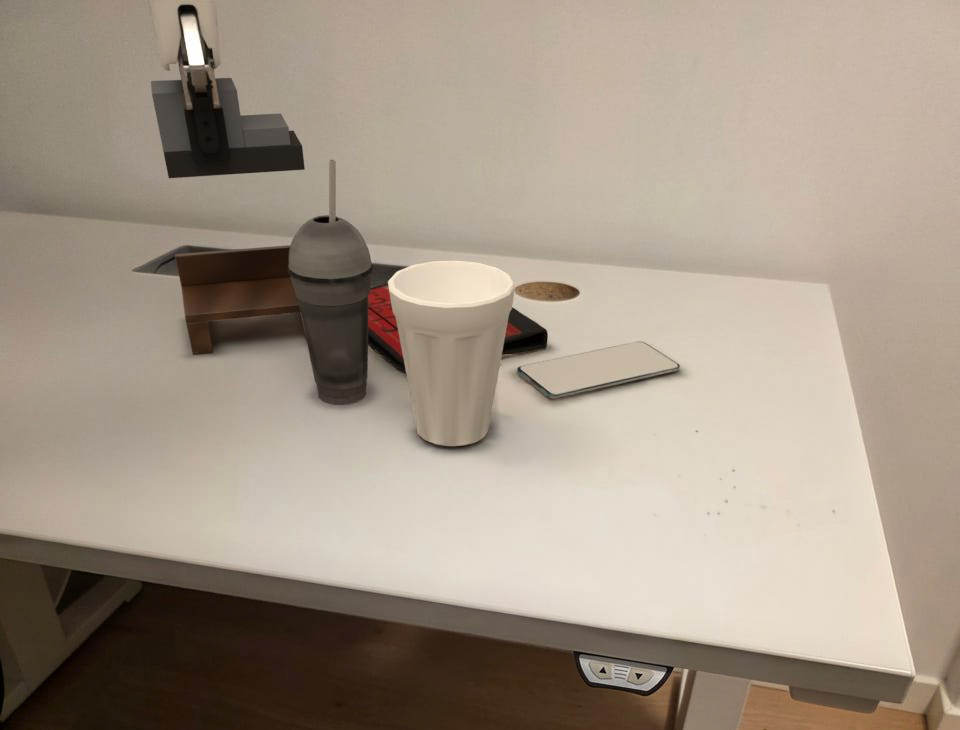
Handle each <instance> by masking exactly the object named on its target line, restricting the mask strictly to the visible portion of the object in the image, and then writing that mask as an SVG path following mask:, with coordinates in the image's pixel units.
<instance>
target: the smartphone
mask: <svg viewBox="0 0 960 730" xmlns="http://www.w3.org/2000/svg"><path fill="white" fill-rule="evenodd" d="M680 367H681V365H680V364H679V363H678V362H676V361H674V360H673V359H672V358H670V357H668V356H667V355H666V354H664V353H662V352H660V351H659V350H657V349H656V348H654V347H653V346H651V345H650V344H648V343H646V342H644V341H633V342H629V343H623V344H620V345H619V344H618V345H614V346H609V347H605V348H601V349H596V350H590V351H585V352H581V353H577V354H572V355H566V356H562V357H557V358H553V359H548V360H543V361H537V362H533V363H529V364H524V365H519V366H518V367H517V368H516V371H517V372H516V373H518V374H519V375H520V376H521V377H522V378H523V379H525V380H526V381H528V382H529V383H530V384H531V385H532V386H533V387H535V388H536V389H537V390H538V391H540V392H541V393H542V394H543V395H544V396H546V397H547V398H550V399H559V398H564V397H568V396H573V395H576V394H582V393H587V392H590V391H595V390H599V389H604V388H607V387H612V386H617V385H621V384H625V383H630V382H635V381H639V380H643V379H648V378H652V377H657V376H661V375H666V374H669V373H673V372H677V371H679V369H680Z"/></svg>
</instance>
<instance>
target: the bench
mask: <svg viewBox="0 0 960 730" xmlns="http://www.w3.org/2000/svg"><path fill="white" fill-rule="evenodd" d="M290 245H291V244H287V245H275V246H261V247H249V248H237V249H223V250H211V251H210V250H209V251H199V252H197V251H196V252H184V253H175V254H174V258H175V262H176V268H177V273H178V277H179V283H180V287H181V296H182V303H183V312H184V319H185V323H186V328H187V334H188V338H189V343H190V348H191V352H192V355H202V354H203V355H204V354H211V353H212V354H213V353H214V349H213V344H212V337H211V332H210V326H209V322H215V321H224V320H225V321H226V320H236V319H246V318H256V317H257V318H258V317H267V316H277V315H288V314H298V313H300V314H301V312H300V307H299V302H298V298H297V297H296V294H295V291H294V287H293V284H292V281H291V275H289V273H288V265H289V250H290Z"/></svg>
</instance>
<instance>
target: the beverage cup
mask: <svg viewBox="0 0 960 730" xmlns="http://www.w3.org/2000/svg"><path fill="white" fill-rule="evenodd" d="M336 162H337V161H336V160H335V159H329V160H328V178H329V179H328V184H329V185H328V214H326V215H318V216H315V217H312V218H310V219H309V220H307V221H306V222H304V223H303V224H302V225H300V227H299V228H298V230H297V231H296V233H295V234H294V236H293V237H292V240H291V242H290V244H289V245H290V250H289V265H288V273H289V275H291V281H292V284H293V287H294V291H295V294H296V297H297V298H298V302H299V307H300V316H301V320H302V324H303V325H302V326H303V331H304V335H305V341H306V346H307V350H308V356H309V360H310V364H311V371H312V375H313V379H314V383H315V386H316V390H317V395H318V399H320V401H322V402H323V403H326V404H329V405H334V406H335V405H337V406H343V405H344V406H345V405H351V404H355V403H358V402H360V401H362V400H363V399H364V398H366V396H367V394H368V393H367V386H368V385H367V384H368V377H369V376H368V375H369V374H368V373H369V366H368V365H369V345H368V315H369V292H370V288H372V279H373V276H372V275H373V274H372V272H373V271H374V265H373V263H372V258H371V252H370V250H369V247H368V244H367V242H366V241H365V238H364V237H363V235H362V234H361V232H360V231H359V230H358V228H357V227H356V226H355V225H354V224H352V223H351V222H349V221H347V220H346V219H344V218H342V217H339V216H337V215H336V214H337V213H336V211H337V209H336V207H337V206H336V205H337V203H336V202H337V201H336V200H337V198H336V197H337V195H336V194H337V193H336V191H337V190H336V189H337V187H336V185H337V182H336V175H337V174H336V173H337V171H336V170H337V169H336V167H337V163H336Z"/></svg>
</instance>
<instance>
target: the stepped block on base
mask: <svg viewBox="0 0 960 730" xmlns="http://www.w3.org/2000/svg"><path fill="white" fill-rule="evenodd" d="M215 80H216V86H217V92H218V98H219V104H220V107H222V108H223V113H224V119H225V126H226V132H227V139H228V145H229V152H230V158H229V160H226V161H210V162H196V161H194V160H193V157H192V151H191V146H190V140H189V135H188V129H187V124H186V118H185V113H184V109H187V107H186V101H185V96H184V90H183V85H182V80H181V79H169V80H168V79H167V80H152V81H150V87H151V96H152V101H153V107H154V111H155V117H156V121H157V122H156V123H157V126H158V133H159V136H160V141H161V146H162V152H163V156H164V161H165V167H166V172H167V177H168V179H180V178H196V177H211V176H213V177H214V176H228V175H241V174H242V175H244V174H245V175H246V174H257V173H258V174H259V173H272V172H273V173H274V172H275V173H276V172H291V171H304V170H306V169H305V159H304V158H305V157H304V149H303V145H302V143H301V141H300V139H299V138H298V136H297V134H296V133H295V131H294V130H290V129H289V125H288V124H287V122H286V120H285V119H284V116H283V115H282V113H264V114H263V113H262V114H261V113H260V114H244V115H241V109H240V101H239V96H238V89H237V87H236V85H235V83H234V81H233V79H232V77H215ZM190 94H191V92H190ZM191 99H192V97H191ZM213 108H214V107H213ZM193 109H194V108H193Z"/></svg>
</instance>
